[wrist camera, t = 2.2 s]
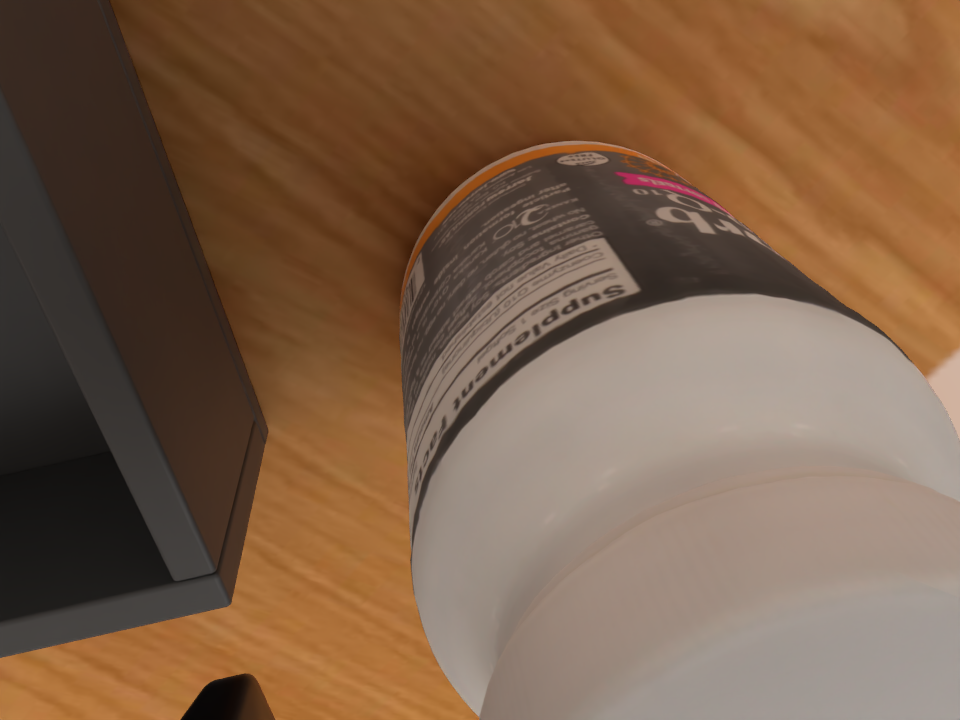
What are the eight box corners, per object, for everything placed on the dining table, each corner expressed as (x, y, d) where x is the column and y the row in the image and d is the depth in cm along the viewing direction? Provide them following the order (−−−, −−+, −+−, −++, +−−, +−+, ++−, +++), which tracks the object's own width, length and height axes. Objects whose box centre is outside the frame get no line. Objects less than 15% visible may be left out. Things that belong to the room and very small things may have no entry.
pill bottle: (779, 270, 15) (1364, 759, 6) (561, 483, 16) (777, 1110, 8) (551, 53, 13) (950, 322, 4) (326, 321, 14) (253, 938, 6)
